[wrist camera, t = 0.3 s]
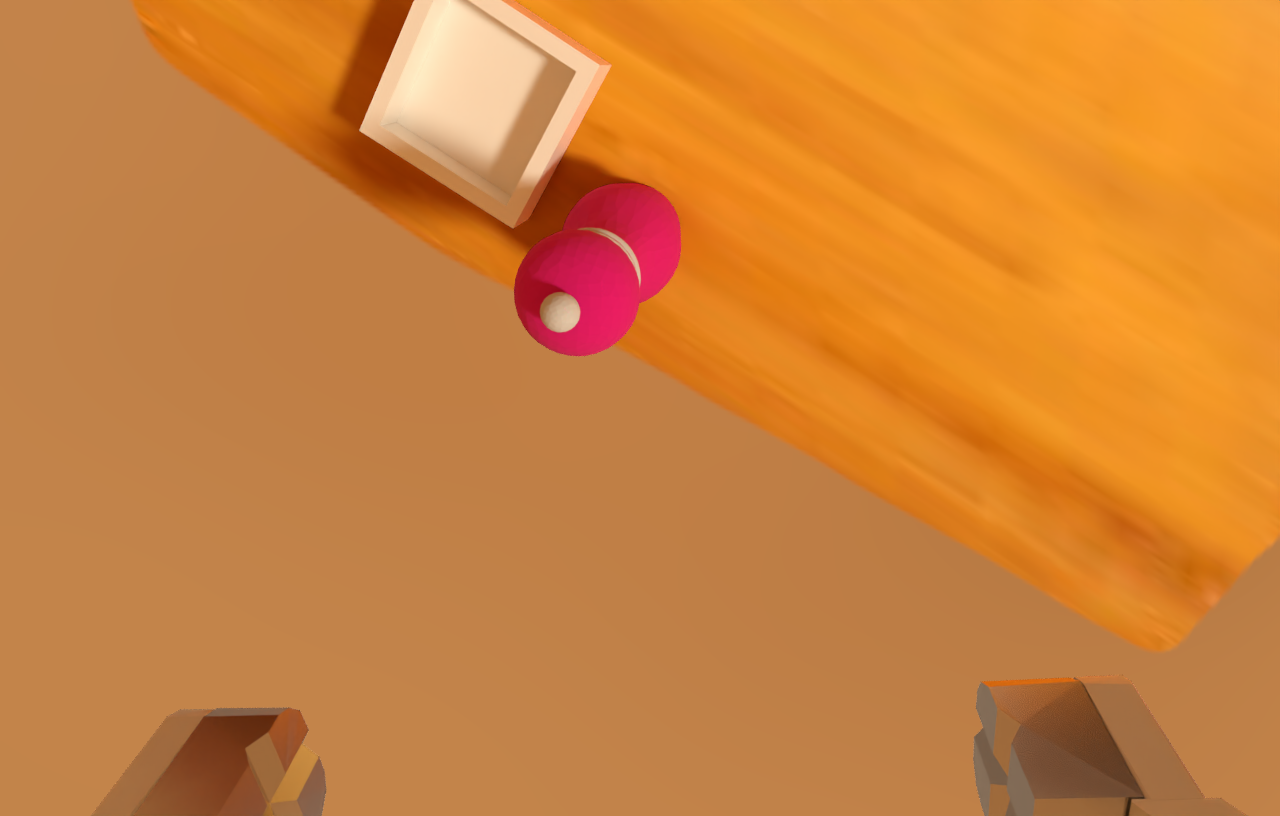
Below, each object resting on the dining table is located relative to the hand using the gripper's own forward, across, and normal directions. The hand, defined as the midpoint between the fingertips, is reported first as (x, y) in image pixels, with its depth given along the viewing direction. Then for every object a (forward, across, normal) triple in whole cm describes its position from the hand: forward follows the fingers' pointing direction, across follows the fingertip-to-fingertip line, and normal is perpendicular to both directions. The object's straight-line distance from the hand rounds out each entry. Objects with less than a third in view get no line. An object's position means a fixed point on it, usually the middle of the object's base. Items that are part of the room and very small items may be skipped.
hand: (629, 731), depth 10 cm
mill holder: (+48, +12, -4) cm, 50 cm away
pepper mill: (+47, +4, +5) cm, 47 cm away
